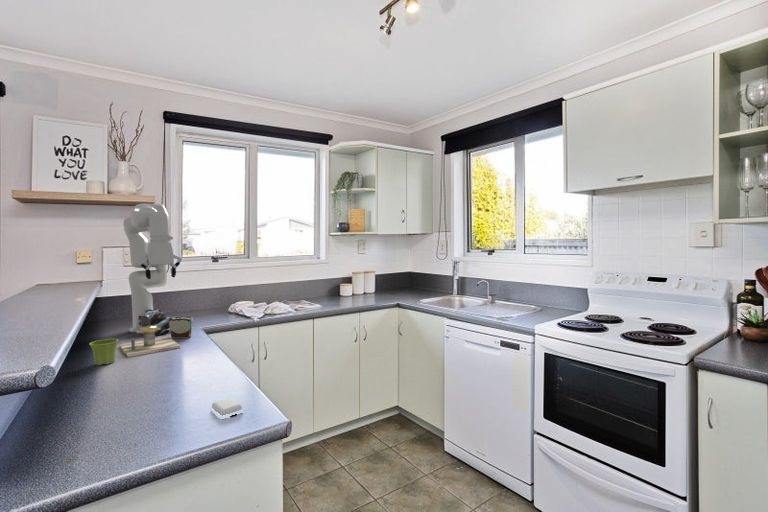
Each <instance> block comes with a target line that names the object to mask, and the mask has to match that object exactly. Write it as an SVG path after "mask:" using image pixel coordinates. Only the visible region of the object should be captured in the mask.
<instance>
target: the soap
mask: <svg viewBox="0 0 768 512" xmlns="http://www.w3.org/2000/svg"><path fill="white" fill-rule="evenodd" d="M211 408H213V409H214V410H215V411H216V412H218V413H219V414H220V415H222V416H223V415H226V414H230V413H233V412H236V411H239V410H241V409H242V410H243V407H242V405H241V404H240V403H239V402H237V401H236V400H235V399H232V398H231V397H227V398H224V399H219V400H217V401H215V402H213V403H212V404H211Z"/></svg>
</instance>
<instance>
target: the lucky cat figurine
mask: <svg viewBox="0 0 768 512" xmlns="http://www.w3.org/2000/svg"><path fill="white" fill-rule="evenodd" d="M144 315H149V326H151V325H155V326H157V328H158V327H160V328H161V330H157V331H156V332H155V336H160V335H161V334H163V333H164V332H166V331H168V329H170V326H169V322H168V318H169V317H170V316H167V315H166V313H164V312H163V311H161V309H159V308H158V309H156V310H154V309H153V310H151V309H150V310H149V311H148V312H146V313H145V314H144ZM138 317H139V318H138V324H139V325H140V327H141V315H140V316H138Z"/></svg>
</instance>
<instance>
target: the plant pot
mask: <svg viewBox="0 0 768 512" xmlns="http://www.w3.org/2000/svg"><path fill="white" fill-rule="evenodd" d="M118 341H119V339H118V338H105V339H99V340H95V341H94V340H93V341H92V342H89V344H88V345H89V346H90V349H92V353H93V357H94V358H93V359H94V363H95V365H96V364H97V365H96V366H101V365H102V364H107V365H110V364H109V363H111V364H113V363H114V362H115V360H116V353H117V352H116V349H117V345H118ZM112 362H113V363H112Z"/></svg>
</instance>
